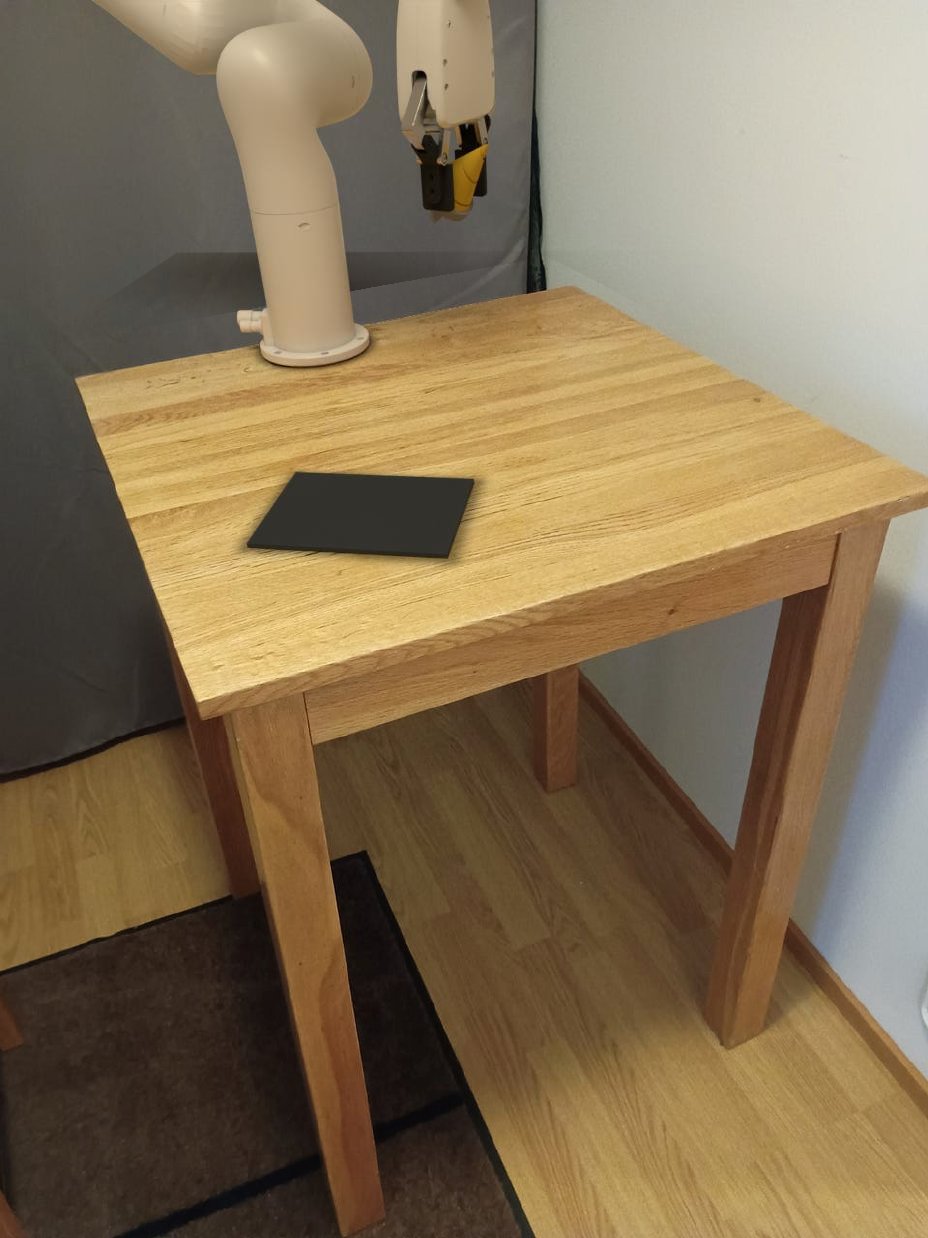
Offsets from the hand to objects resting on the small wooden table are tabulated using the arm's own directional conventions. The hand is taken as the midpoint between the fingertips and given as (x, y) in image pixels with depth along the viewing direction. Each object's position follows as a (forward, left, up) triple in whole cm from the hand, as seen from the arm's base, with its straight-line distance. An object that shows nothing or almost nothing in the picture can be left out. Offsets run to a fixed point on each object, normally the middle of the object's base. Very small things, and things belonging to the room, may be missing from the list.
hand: (455, 200), depth 89 cm
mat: (-3, -30, -17) cm, 35 cm away
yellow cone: (0, 0, -2) cm, 2 cm away
